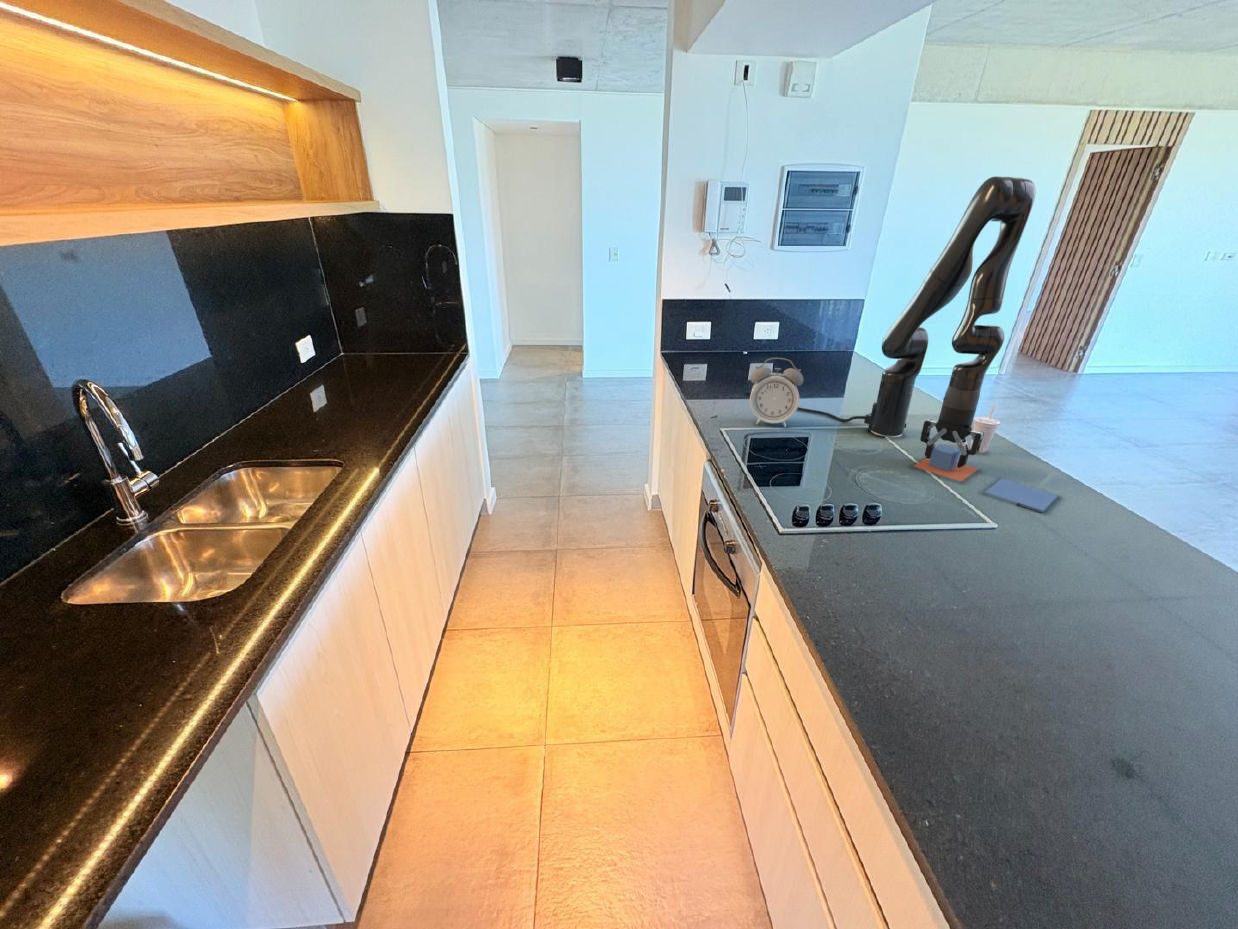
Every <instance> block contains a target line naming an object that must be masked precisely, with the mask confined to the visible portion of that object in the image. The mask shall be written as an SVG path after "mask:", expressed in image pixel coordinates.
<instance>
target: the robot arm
mask: <svg viewBox="0 0 1238 929" xmlns="http://www.w3.org/2000/svg"><path fill="white" fill-rule="evenodd" d="M1035 199H1036V184H1035V183H1034V182H1033V180H1031V179H1030V178H1024V177H1015V176H1003V175H994V176H990V177H988V178H987V179H985V180H984V181H983V182H982V183H980V185H979V186H978V188H977V189H976V190H975V192H974V194H973V195H972V197H971V198H970V200H969V202H968V204H967V206H966V208H965V210H964V212H963V214H962V216H961V218H959V219H960V220H959V221H958V223H957V225H956V227H955V228H954V231H953V233H952V235H951V236H950V238H949V239H948V241H947V243H946V244H945V246H944V248H943V249H942V251H941V253H940V254H939V255H938V257H937V259H936V260H935V262H934V263H933V265H932V266H931V267H930V269H929V270H928V272H927V274H926V275H925V277H924V278H923V280H922V282H921V284H920V286H919V287H918V289H917V290H916V292H915V293H914V294H913V296H912V298H911V299H910V300H909V302H908V303H907V305H906V307H905V308H904V309H903V310H902V312H901V313H900V314H899V316H898V317H897V318H896V319H895V320H894V322H893V323H892V324H891V326H890V327H889V328H888V329H887V331H886V333H885V334H884V336H883V338H882V340H881V341H882V342H881V352H882V354H883V356H885V357H886V358H888V359H892V360H896V361H895V362H894V363H893V364H892V365H890V366H888V367H886V368H884V369H883V370H882V374H881V377H880V383H879V387H878V393H877V397H876V401H874V402H873V403H872V408H871V412H869V413H867V414H865V415H855V416H851V417H849V418H841V417H838V416H836V415H834V414H832V413H830V412H826V411H822V410H817V409H811V408H803V407H799V406H798V408H797V410H796V411H801V412H807V413H813V414H819V415H824V416H826V417H830V418H832V419H835V420H836V421H839V422H843V423H848V422H851V421H853V420H864V421H863V423H864V424H867V425H868V426H867V432H869V433H871V434H872V435H874V436H877V437H880V438H883V439H884V438H900V437H902V436H904V430H905V429H906V427H907V423H906V421H907V418H908V413H909V409H910V406H911V401H912V397H913V392H914V388H915V384H916V379H917V377H918V376H919V375H920V373H921V371H922V367H923V365H924V360H925V358H926V354H927V351H928V346H929V334H928V331H927V330H926V328H924V327H923V326H922V325H923V324H924V323H925V322H926V321H927V320H928V319H929V318H931V317H932V316H934V315H935V314H938V312H939V311H942V310H943V309H944V308H945V307H947V305H949V304H950V303H951V302H953V300H954V299H955V298H956V297H957V296H958V295H959V293H960V292H961V290H962V289H963V287H964V286H965V285H966V284H967V282H968V281H969V279H970V277H971V275H972V272H973V269H974V268H973V267H974V247H975V244H976V241H977V239H978V238H979V236H980V235H981V233H982V231H983V229H984V228H986V225H987V224H988V223H989V222H995V223H999V228H998V229H999V230H998V234H997V237H996V240H995V242H994V244H993V246H992V248H991V249H990V250H989V252H988V253H987V255H986V256H985V258H984V259H983V260H982V262H981V263H980V264H979V266H978V267H977V269H976V270H975V272H974V274H973V276H972V279H971V281H970V287H969V293H968V298H967V302H966V307H965V309H964V312H963V315H962V316H961V319H960V321H959V323H958V324H957V327H956V329H955V331H954V333H953V335H952V338H951V347H952V349H953V351H954V352H955V353H957V354H961V355H976V357H974V358H973V359H972V360H968V361H962V362H958V363H956V364H955V365H954V366H953V368H952V371H951V374H950V375H951V376H950V379H949V382H948V386H947V389H946V391H945V392H944V396H943V398H942V404H941V409H940V412H939V416H938V420H937V421H935V420H933V419H932V418H929V419H926V420H925V421H924V422H923V426H922V429H921V434H920V438H919V440H920V442H922V443H925V445H926V447H925V452H924V457H925V459H926V458H927V459H930V458H931V454H932V450H933V448H935V447H936V444H935V443H937V442H938V441H939V440H941V441H948V442H950V443H953V444H956V445H957V448H958V449H960V453H961V454H959V457H958V460H957V462H958V465H957V467H958V468H961V467H962V466H964V465H967V463H968V459H969V456H975V455H976V454H978V453H980V452H979V449H980V445H981V442H982V439H983V436H984V432H982V431H981V432H976V431H973V429H972V425H973V423H974V422H973V421H974V418H975V415H976V411H977V408H978V405H979V401H980V396H981V390H982V386H983V382H984V380H985V376H986V374H987V371H988V370H989V368H990V366H991V365H992V362H993V361H994V360H995V358H996V357H997V355H998V353H999V352H1000V350H1001V349H1002V347H1003V345H1004V342H1005V331H1004V330H1003V328H1002V327H1001V326H999V325H994V324H976V322H977V321H978V320H979V318H981V317H983V316H984V317H985V316H990V315H995V314H998V313H999V312H1000V311H1001V309H1002V306H1003V302H1004V296H1005V291H1006V286H1007V281H1008V278H1009V273H1010V269H1011V266H1012V262H1013V260H1014V258H1015V254H1016V252H1017V249H1018V247H1019V244H1020V242H1021V239H1022V237H1023V233H1024V231H1025V228H1026V225H1027V222H1028V220H1029V218H1030V215H1031V213H1032V210H1033V206H1034V202H1035ZM746 394H747V395H749V396H750V395H751V391H746ZM934 427H935V430H936V431H937V433H936V434H935V435H933V436H932V437H931V438H930V434H931V430H932V429H933V428H934ZM968 436H971V440H972V439H973V440H974V441H973V444H972V447H971V446H969V442H968V439H967V437H968ZM970 448H971V449H970Z"/></svg>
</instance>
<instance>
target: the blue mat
mask: <svg viewBox="0 0 1238 929" xmlns="http://www.w3.org/2000/svg"><path fill="white" fill-rule="evenodd" d="M984 493H985V494H989V495H992V496H995V497H999V498H1001V499H1005V500H1008V501H1011V502H1014V503H1016V505H1017V506H1020V507H1023V508H1026V509H1029V510H1032V511H1035V512H1039V513H1042V514H1043V513H1044V512H1045V511H1046V510H1047V509H1048V508H1049V507H1050V506H1051V505H1052V504H1053V503H1054V502H1055V501H1056V499H1058V497H1059V494H1056V493H1054V492H1050V491H1046V490H1043V489H1040V488H1036V487H1033V486H1030V485H1026V484H1022V483H1019V482H1016V481H1013V480H1009V479H1007V478H1000V479H999V480H998V481H996V482H995V483H994V484H993V485H991V486H990V487H989V488H988V489H987V490H985V491H984Z"/></svg>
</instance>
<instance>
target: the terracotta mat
mask: <svg viewBox="0 0 1238 929" xmlns="http://www.w3.org/2000/svg"><path fill="white" fill-rule="evenodd" d="M929 462H930V459H927V458H926V457H925V458H924V459H922V460H921V461H919V462H918V463H916V464H914V465H913V467H914V468H918V469H921V470H924V471H926V472H929V473H932V474H937V475H938V476H939V475H940V476H943V477H946V478H949V479H952V480H955V481H959V482H963V481H964V480H965V479H967V478H968V477H969V476H971V475H973V474H974V473H975V472H977V471H979V468H978V467H975V466H972V465H969V464H965V465H964V466H962V467H961V468H958V467H957V465H958V461H957V463H956V467H954V468H953V469H951V470H950V471H945V470H941V469H938V468H935V467H932V466H929Z"/></svg>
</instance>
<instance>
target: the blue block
mask: <svg viewBox="0 0 1238 929" xmlns="http://www.w3.org/2000/svg"><path fill="white" fill-rule="evenodd" d="M960 453H961V451H960V448H955V447H952V446H949V445H945V444H938V445H937V446H935V447H934V448H933V450H932V454H931V458H930V462H929V466H932V467H935V468H938V469H941V470H945V471H950V470H951V469H953V468H954V467H956V463H957V462H958V461H959V457H960Z"/></svg>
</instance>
